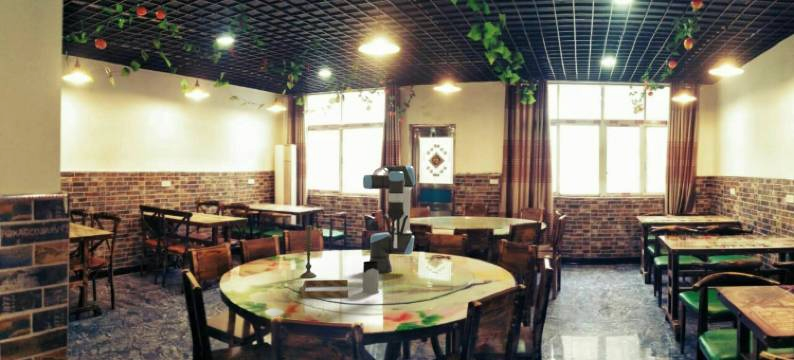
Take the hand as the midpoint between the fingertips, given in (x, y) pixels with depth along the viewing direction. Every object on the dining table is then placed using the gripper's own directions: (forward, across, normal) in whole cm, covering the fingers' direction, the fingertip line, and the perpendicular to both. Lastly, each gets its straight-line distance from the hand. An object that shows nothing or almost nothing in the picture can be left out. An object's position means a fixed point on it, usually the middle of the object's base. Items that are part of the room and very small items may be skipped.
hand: (395, 247), depth 250 cm
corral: (+22, -35, 0) cm, 41 cm away
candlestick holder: (+22, -46, +35) cm, 62 cm away
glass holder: (+22, -13, 0) cm, 26 cm away
